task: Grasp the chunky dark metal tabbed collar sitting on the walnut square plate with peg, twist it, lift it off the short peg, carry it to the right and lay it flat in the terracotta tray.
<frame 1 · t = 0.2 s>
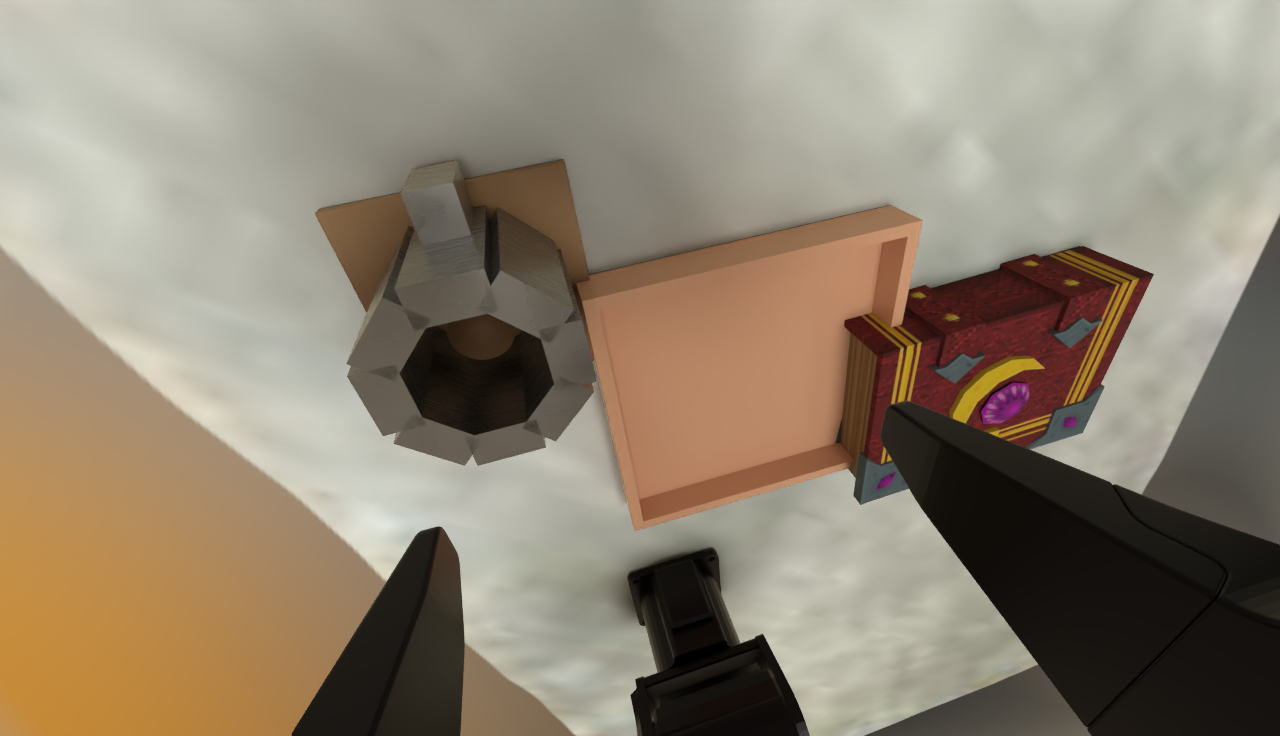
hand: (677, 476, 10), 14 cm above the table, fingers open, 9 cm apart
ring: (482, 296, 21), resting on square plate with peg
decorative book: (945, 350, 31), on the table, touching tray
square plate with peg: (482, 290, 22), on the table
tray: (741, 372, 28), on the table
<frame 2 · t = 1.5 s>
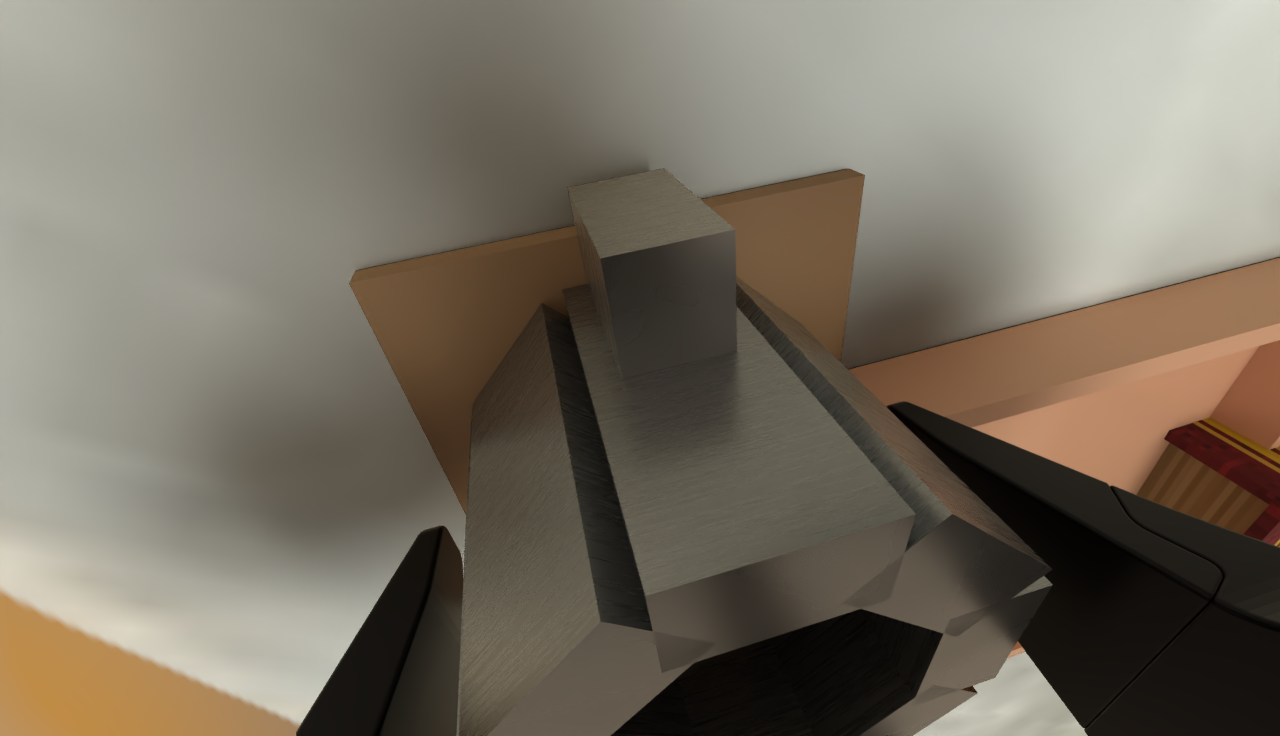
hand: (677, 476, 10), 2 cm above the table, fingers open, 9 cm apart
ring: (652, 422, 11), resting on square plate with peg
decorative book: (1238, 452, 22), on the table, touching tray
square plate with peg: (646, 408, 12), on the table
tray: (991, 501, 18), on the table
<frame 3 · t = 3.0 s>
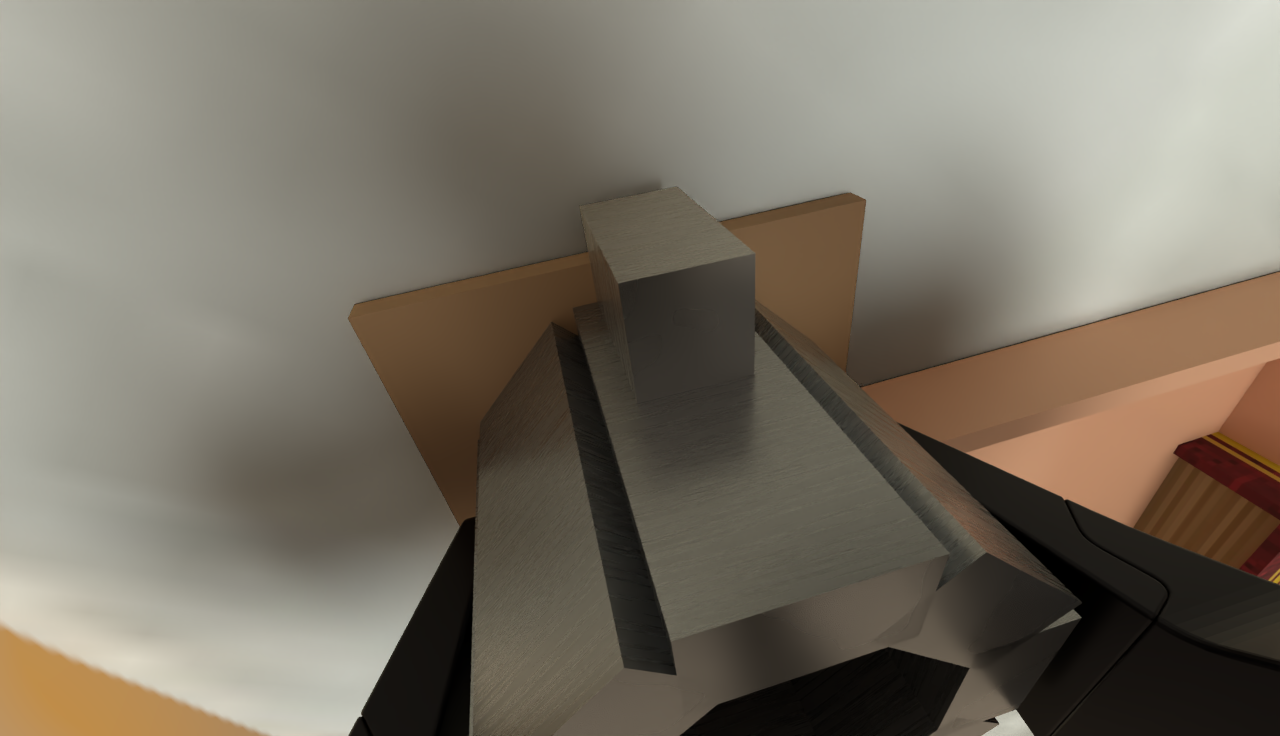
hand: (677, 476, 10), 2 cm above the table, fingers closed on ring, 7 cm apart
ring: (661, 440, 11), resting on square plate with peg, touching gripper
decorative book: (1246, 464, 22), on the table
square plate with peg: (649, 432, 12), on the table
tray: (999, 515, 18), on the table
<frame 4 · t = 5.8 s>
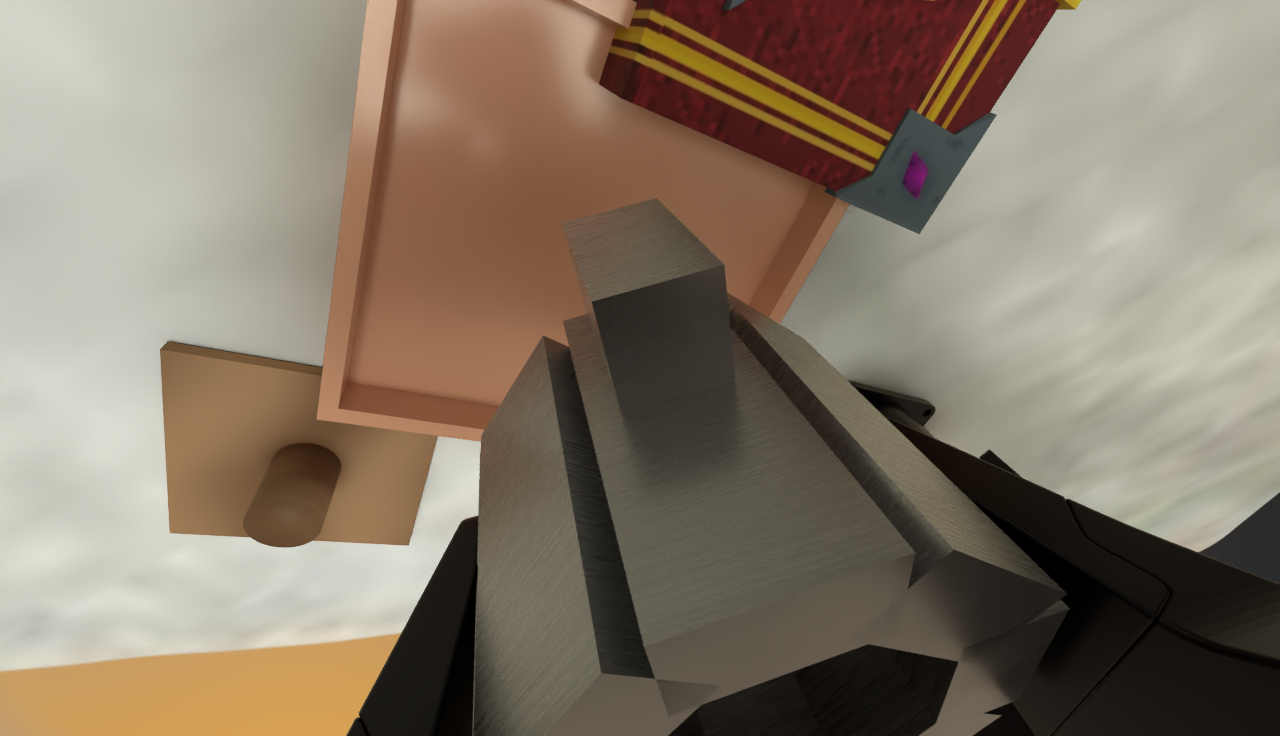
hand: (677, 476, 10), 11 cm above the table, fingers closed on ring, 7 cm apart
ring: (660, 444, 11), point 10 cm above the table, touching gripper
square plate with peg: (310, 457, 21), on the table
tray: (586, 256, 19), on the table
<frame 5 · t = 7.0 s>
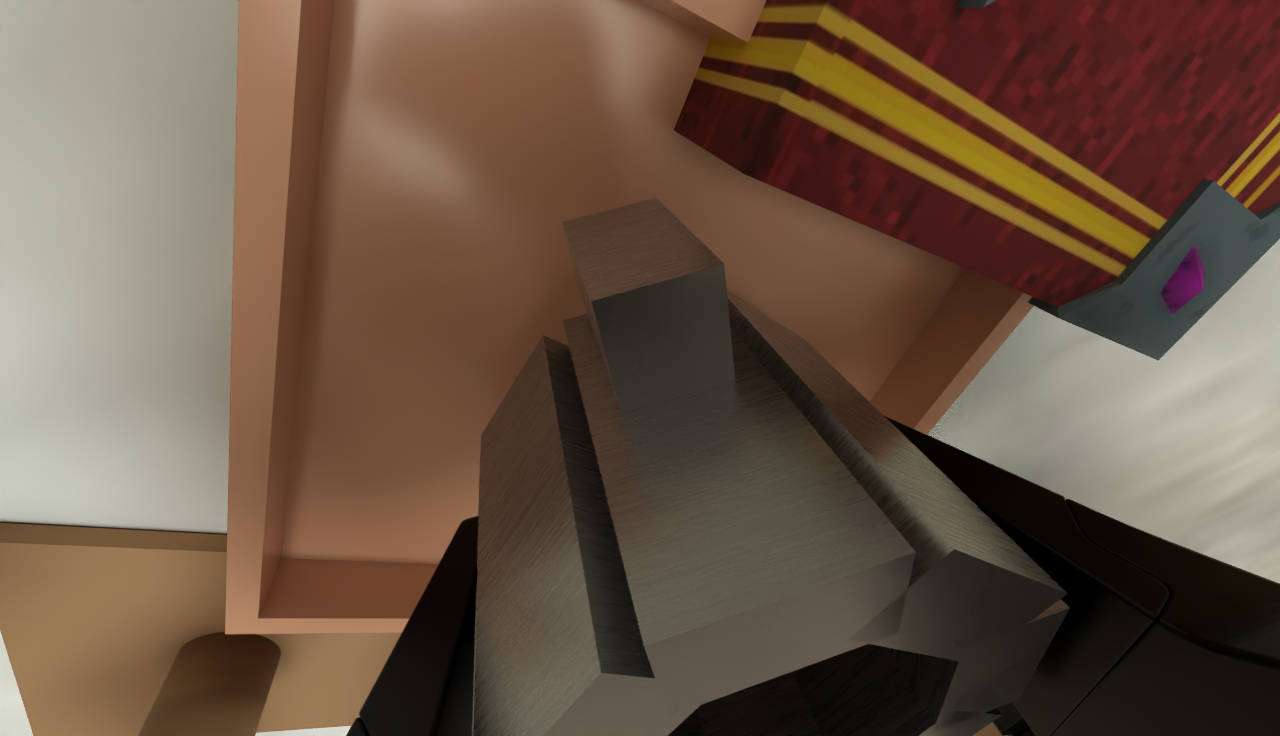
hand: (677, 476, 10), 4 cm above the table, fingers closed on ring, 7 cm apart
ring: (660, 444, 11), point 2 cm above the table, touching gripper
square plate with peg: (237, 638, 15), on the table
tray: (632, 371, 13), on the table
when the fingers open (3 cm above the table, at t = 8.2 s): ring stays where it is, resting on tray.
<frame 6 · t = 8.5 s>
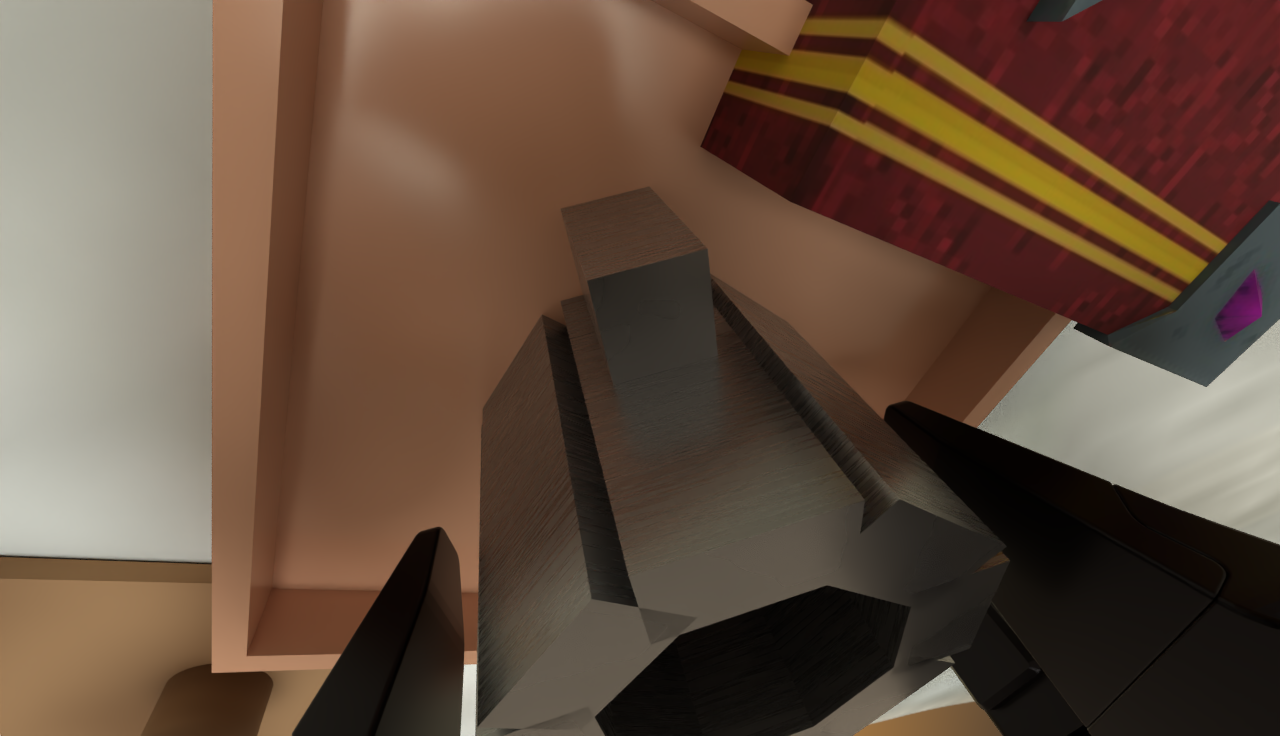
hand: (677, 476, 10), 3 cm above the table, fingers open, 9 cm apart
ring: (651, 420, 12), point 1 cm above the table, touching tray
square plate with peg: (228, 668, 14), on the table
tray: (642, 392, 12), on the table
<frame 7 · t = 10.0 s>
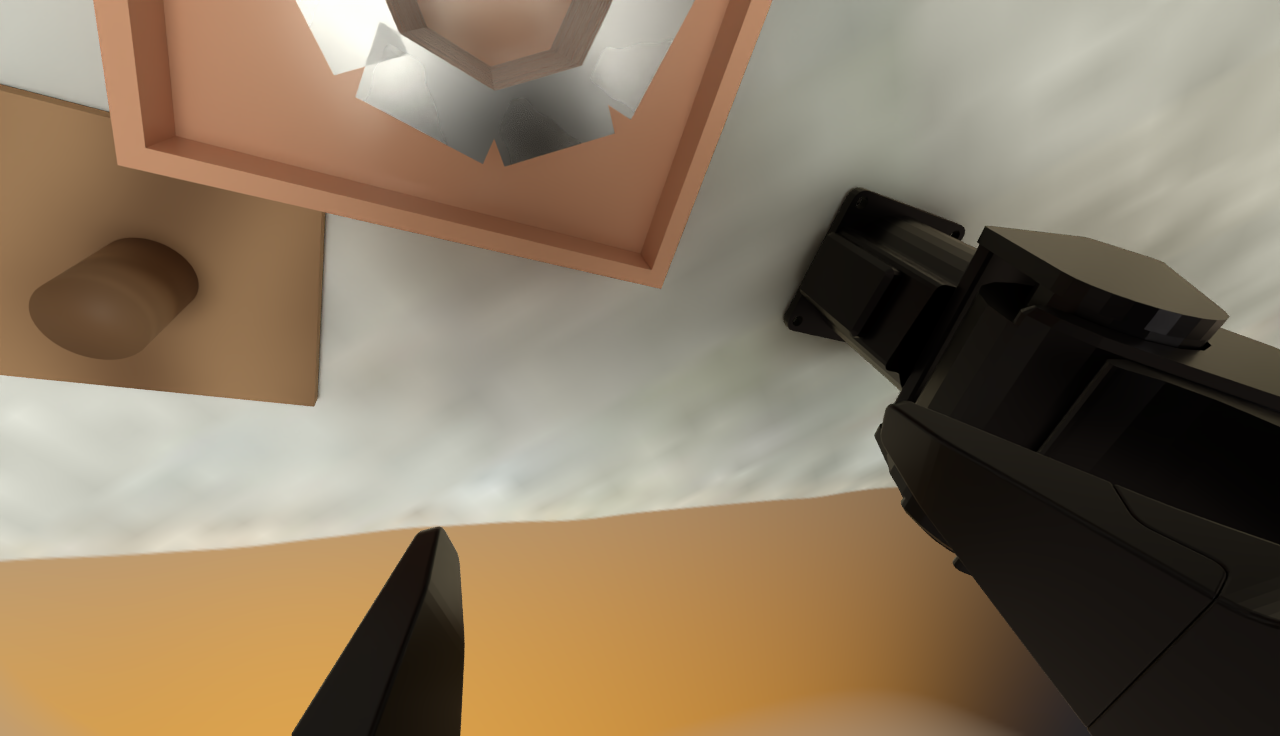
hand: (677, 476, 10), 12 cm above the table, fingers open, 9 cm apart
square plate with peg: (158, 268, 16), on the table
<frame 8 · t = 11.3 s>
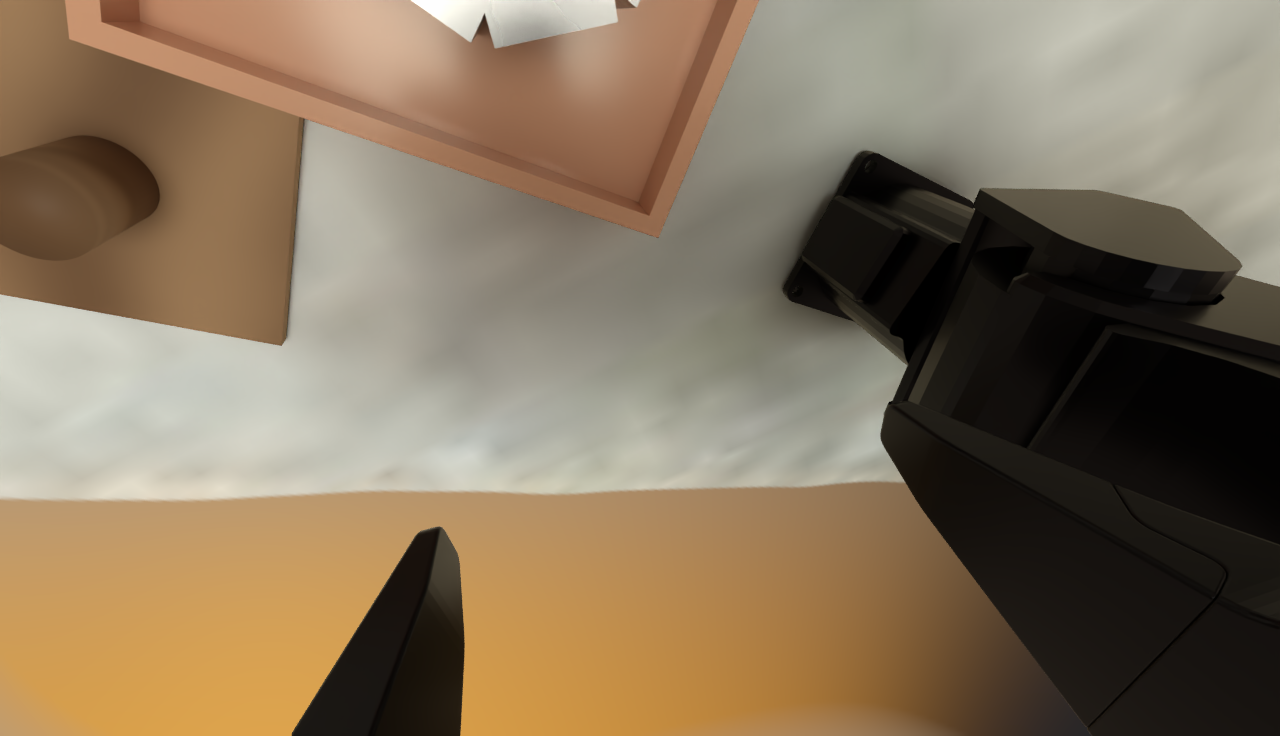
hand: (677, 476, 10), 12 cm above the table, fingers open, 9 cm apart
square plate with peg: (116, 176, 15), on the table
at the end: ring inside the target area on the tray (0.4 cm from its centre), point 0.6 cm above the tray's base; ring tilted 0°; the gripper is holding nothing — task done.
